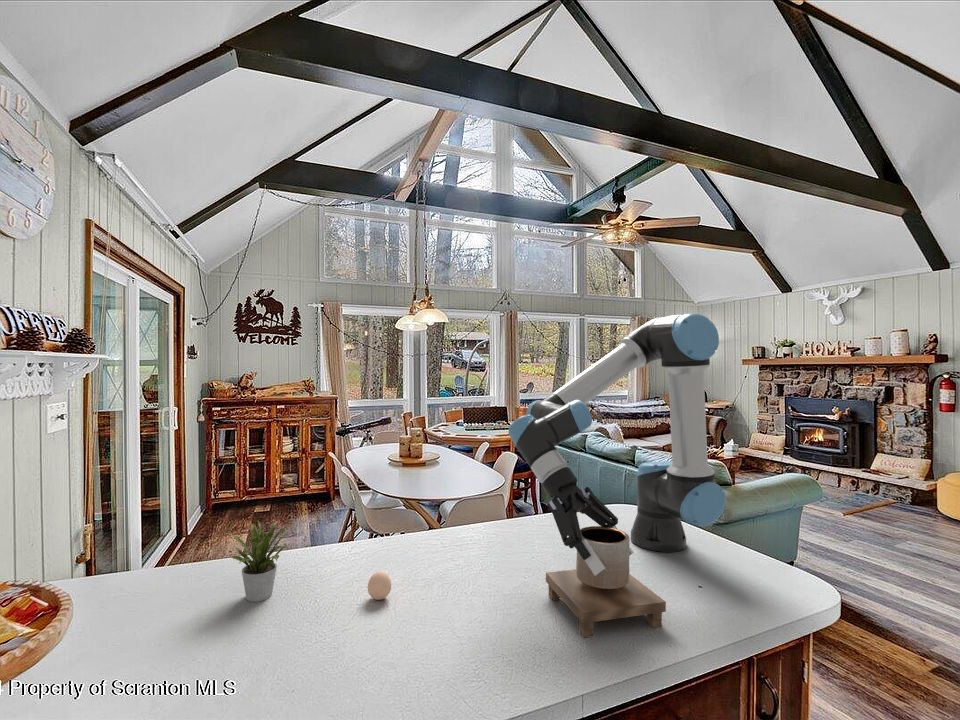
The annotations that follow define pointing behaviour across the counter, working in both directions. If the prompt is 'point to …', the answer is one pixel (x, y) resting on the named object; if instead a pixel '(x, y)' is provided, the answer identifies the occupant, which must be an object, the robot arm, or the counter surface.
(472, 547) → the counter surface
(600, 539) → the planter
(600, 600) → the plant stand
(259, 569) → the house plant
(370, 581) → the egg
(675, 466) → the robot arm
